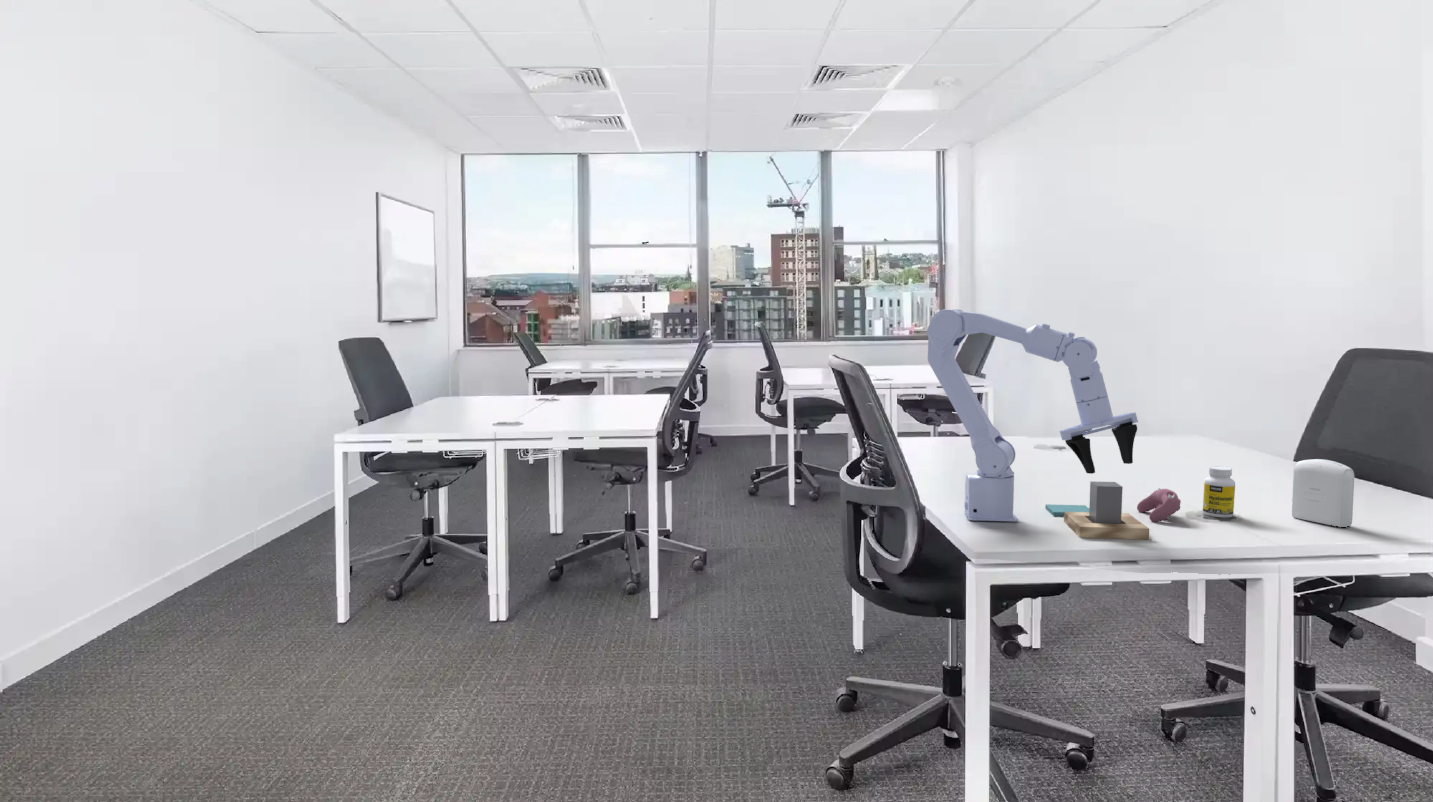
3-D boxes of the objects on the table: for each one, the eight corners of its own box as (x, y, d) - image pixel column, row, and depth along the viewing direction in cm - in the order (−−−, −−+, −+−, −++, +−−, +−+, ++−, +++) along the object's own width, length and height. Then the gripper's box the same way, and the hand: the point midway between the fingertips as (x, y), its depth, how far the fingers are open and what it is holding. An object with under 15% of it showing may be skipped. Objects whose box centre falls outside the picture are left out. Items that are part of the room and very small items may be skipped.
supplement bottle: (1204, 516, 167) (1207, 469, 166) (1200, 510, 172) (1202, 464, 171) (1236, 519, 165) (1238, 470, 164) (1230, 512, 170) (1233, 466, 169)
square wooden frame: (1079, 537, 153) (1080, 526, 153) (1063, 521, 165) (1064, 511, 165) (1149, 539, 151) (1149, 528, 151) (1127, 523, 163) (1128, 513, 163)
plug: (1095, 532, 156) (1097, 486, 156) (1088, 526, 161) (1090, 481, 160) (1120, 533, 156) (1122, 486, 155) (1113, 527, 160) (1115, 481, 159)
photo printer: (1287, 517, 166) (1290, 456, 165) (1301, 515, 168) (1305, 455, 166) (1340, 529, 156) (1345, 465, 155) (1356, 527, 158) (1360, 463, 157)
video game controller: (1170, 530, 163) (1189, 500, 162) (1148, 519, 164) (1167, 489, 162) (1154, 518, 173) (1172, 489, 171) (1133, 508, 173) (1151, 479, 172)
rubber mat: (1053, 515, 170) (1053, 511, 170) (1045, 508, 177) (1045, 504, 177) (1094, 516, 168) (1094, 513, 168) (1085, 508, 175) (1085, 505, 175)
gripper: (1066, 407, 154) (1084, 478, 154) (1138, 389, 155) (1157, 459, 155) (1048, 408, 161) (1066, 476, 161) (1118, 391, 162) (1136, 458, 162)
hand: (1109, 468), depth 158 cm, fingers open, 7 cm apart
